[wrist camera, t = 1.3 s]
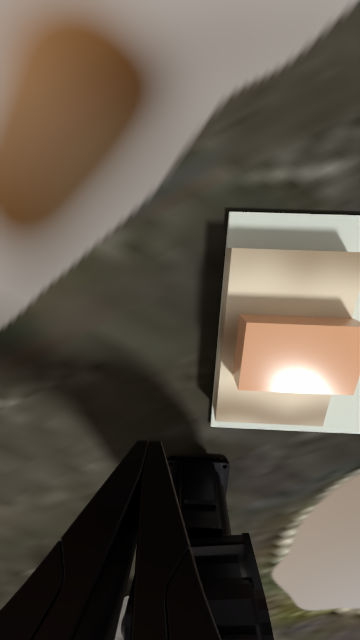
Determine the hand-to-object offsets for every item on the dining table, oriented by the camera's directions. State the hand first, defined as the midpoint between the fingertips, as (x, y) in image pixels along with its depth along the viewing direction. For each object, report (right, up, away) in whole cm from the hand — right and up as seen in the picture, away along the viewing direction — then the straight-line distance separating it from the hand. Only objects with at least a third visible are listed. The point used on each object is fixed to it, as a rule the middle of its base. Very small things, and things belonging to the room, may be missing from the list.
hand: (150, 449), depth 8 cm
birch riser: (+9, +3, +11) cm, 15 cm away
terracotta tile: (+9, +3, +9) cm, 13 cm away
